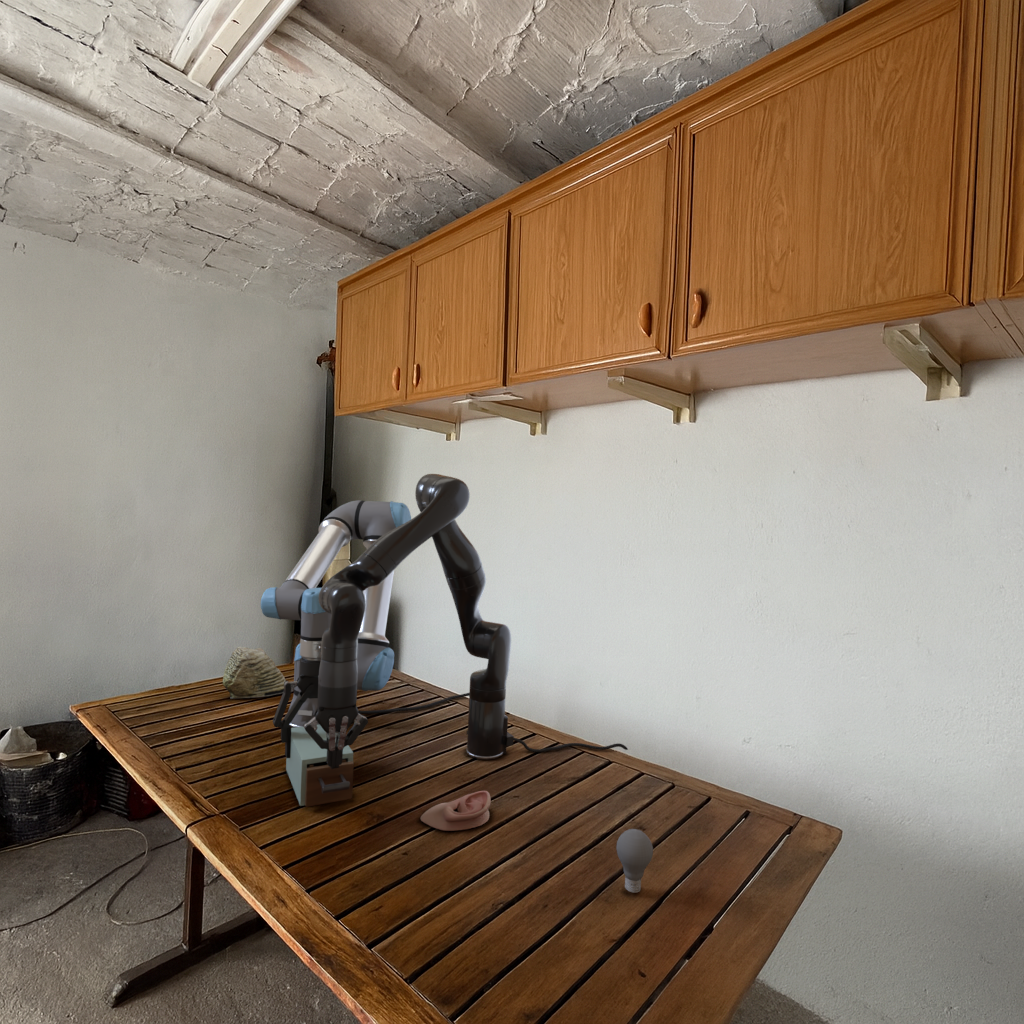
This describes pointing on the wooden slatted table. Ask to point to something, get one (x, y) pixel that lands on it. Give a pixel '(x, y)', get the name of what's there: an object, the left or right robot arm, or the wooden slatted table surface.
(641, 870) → the light bulb
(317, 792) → the drawer
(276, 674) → the fossil
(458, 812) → the anatomical model
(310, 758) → the cabinet
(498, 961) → the wooden slatted table surface
